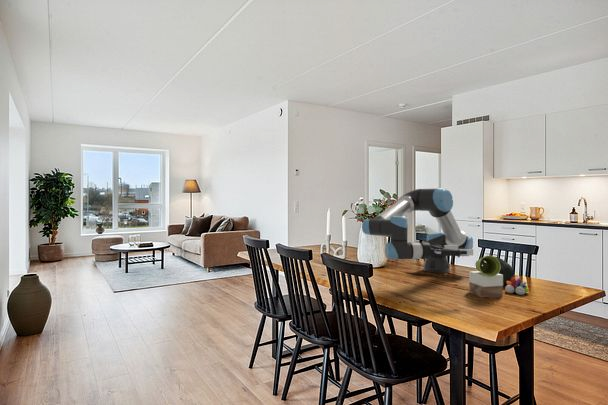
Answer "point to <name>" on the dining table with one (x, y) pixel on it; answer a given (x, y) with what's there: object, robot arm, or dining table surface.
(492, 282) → the pale top block
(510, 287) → the rainbow petal cluster
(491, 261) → the plant pot
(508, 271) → the squash
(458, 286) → the dining table surface
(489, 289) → the walnut base block
